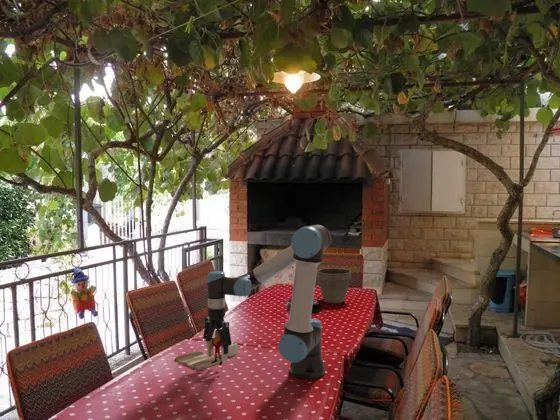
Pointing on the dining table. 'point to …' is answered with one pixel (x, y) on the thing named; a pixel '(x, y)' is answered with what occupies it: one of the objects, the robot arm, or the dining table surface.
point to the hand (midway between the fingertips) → (217, 358)
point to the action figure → (216, 346)
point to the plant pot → (334, 284)
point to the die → (232, 349)
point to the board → (197, 360)
